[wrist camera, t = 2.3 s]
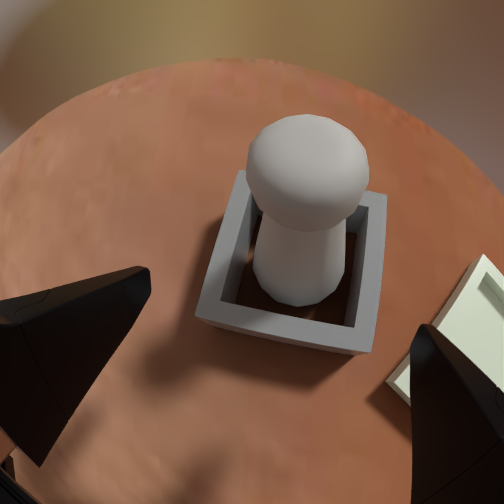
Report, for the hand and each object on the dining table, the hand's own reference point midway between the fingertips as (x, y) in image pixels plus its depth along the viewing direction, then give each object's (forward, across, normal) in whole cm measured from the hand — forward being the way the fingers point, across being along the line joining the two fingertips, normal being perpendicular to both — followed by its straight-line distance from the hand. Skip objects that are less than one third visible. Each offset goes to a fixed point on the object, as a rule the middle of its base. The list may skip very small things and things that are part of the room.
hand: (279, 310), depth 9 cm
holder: (+11, 0, +5) cm, 12 cm away
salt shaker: (+12, 0, +5) cm, 12 cm away
